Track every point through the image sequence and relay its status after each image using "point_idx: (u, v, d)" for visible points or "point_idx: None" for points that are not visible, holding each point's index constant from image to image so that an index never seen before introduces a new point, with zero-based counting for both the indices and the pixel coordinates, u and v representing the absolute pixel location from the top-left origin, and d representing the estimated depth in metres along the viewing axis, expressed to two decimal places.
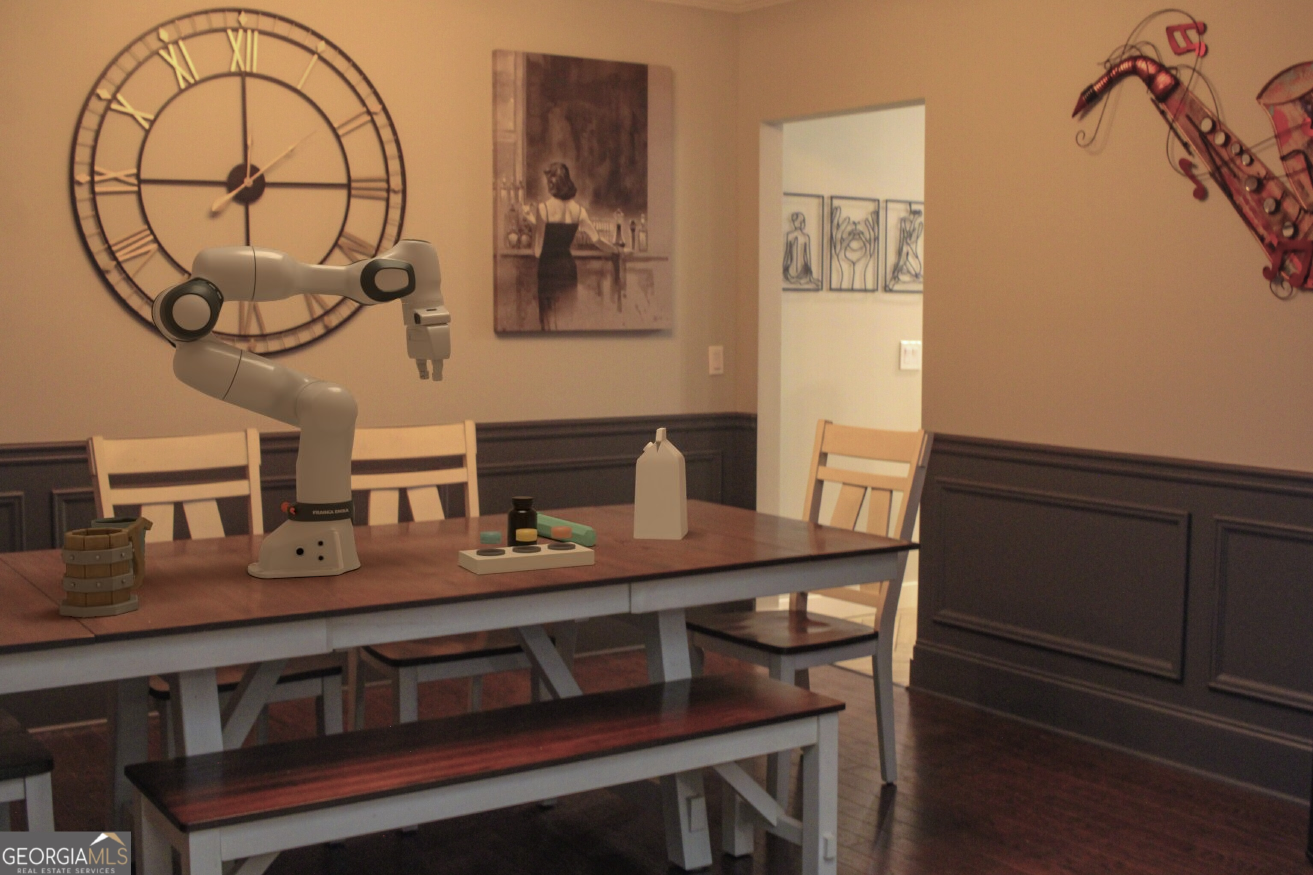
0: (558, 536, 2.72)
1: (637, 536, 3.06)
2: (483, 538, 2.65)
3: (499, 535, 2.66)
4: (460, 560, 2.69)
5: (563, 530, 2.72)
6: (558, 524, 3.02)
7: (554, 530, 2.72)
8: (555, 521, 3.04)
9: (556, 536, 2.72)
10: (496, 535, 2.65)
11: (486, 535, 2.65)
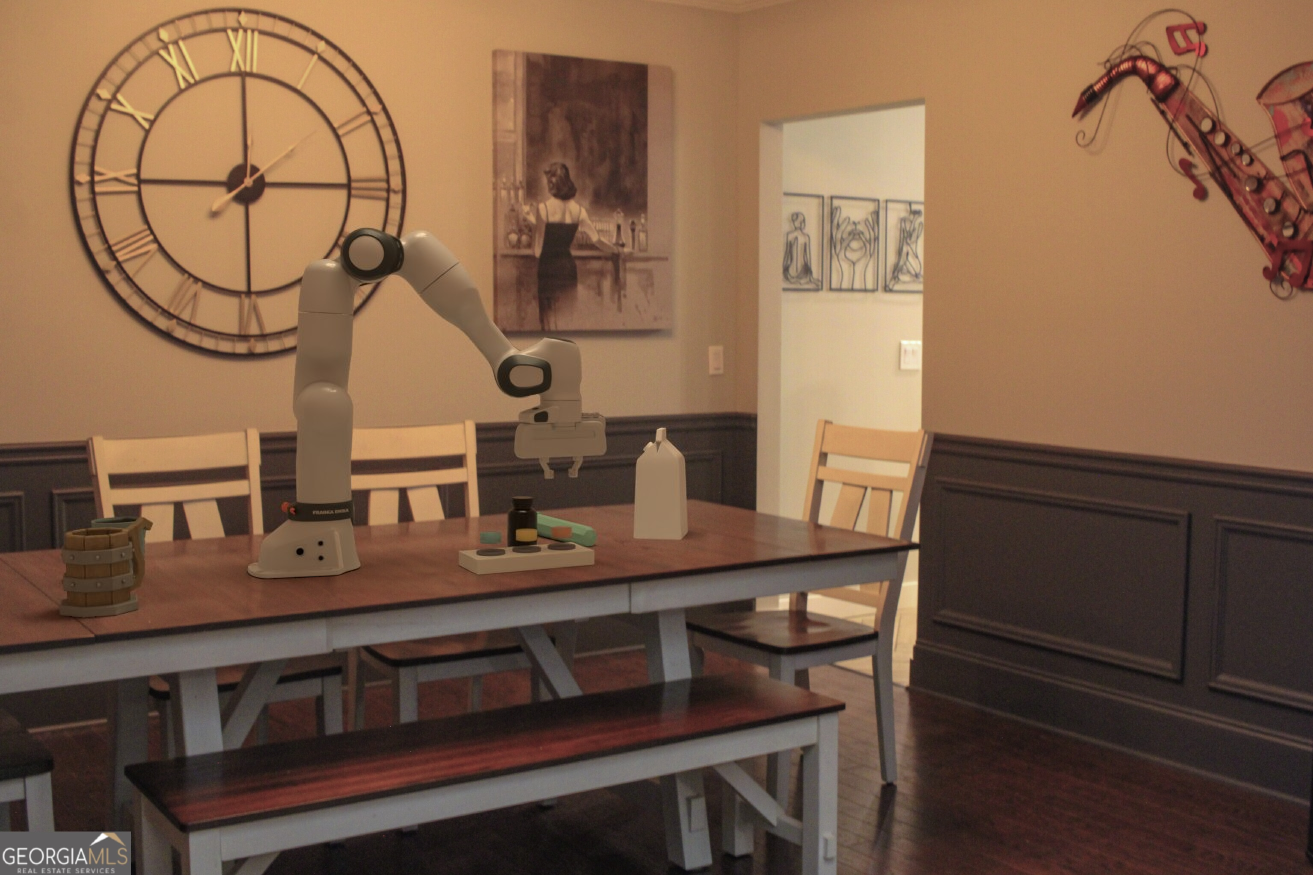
0: (558, 536, 2.72)
1: (637, 536, 3.06)
2: (483, 538, 2.65)
3: (499, 535, 2.66)
4: (460, 560, 2.69)
5: (563, 530, 2.72)
6: (558, 524, 3.02)
7: (554, 530, 2.72)
8: (555, 521, 3.04)
9: (556, 536, 2.72)
10: (496, 535, 2.65)
11: (486, 535, 2.65)
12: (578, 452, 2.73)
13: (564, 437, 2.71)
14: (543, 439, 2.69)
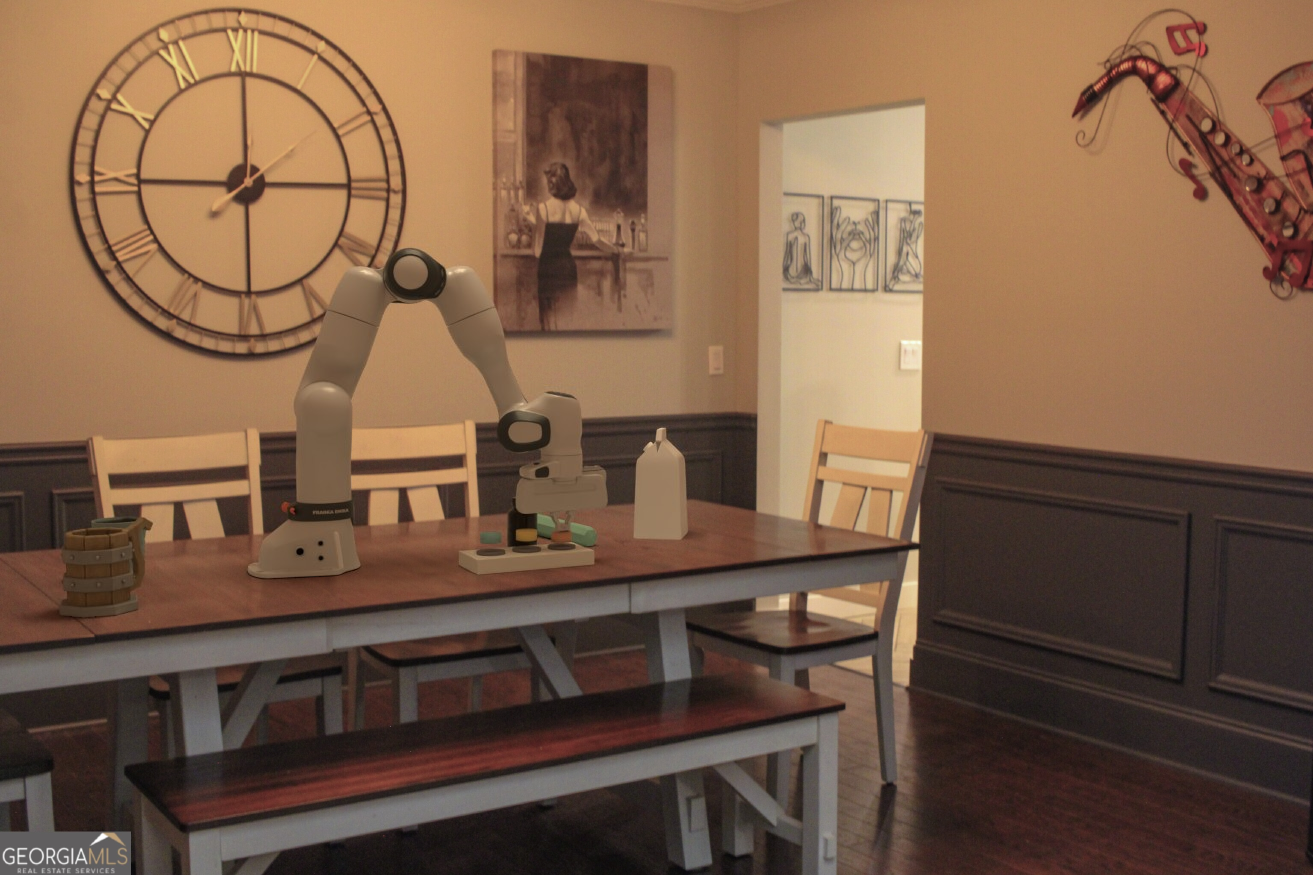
0: (558, 540, 2.72)
1: (637, 536, 3.06)
2: (483, 538, 2.65)
3: (499, 535, 2.66)
4: (460, 560, 2.69)
5: (563, 534, 2.72)
6: None
7: (554, 534, 2.73)
8: None
9: (556, 540, 2.72)
10: (496, 535, 2.65)
11: (486, 535, 2.65)
12: (579, 506, 2.74)
13: (565, 492, 2.72)
14: (544, 494, 2.70)
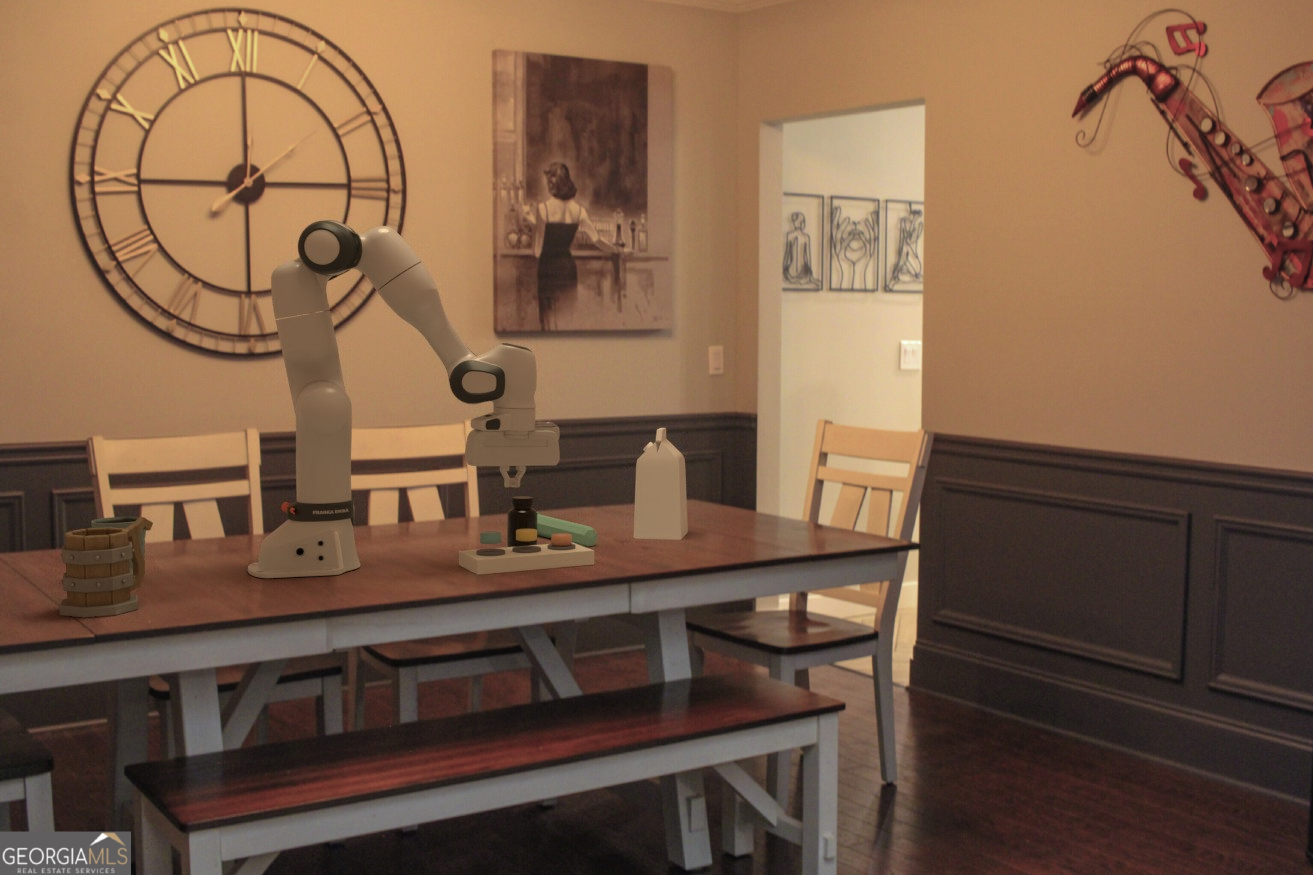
0: (558, 543, 2.72)
1: (637, 536, 3.06)
2: (483, 538, 2.65)
3: (499, 535, 2.66)
4: (460, 560, 2.69)
5: (563, 537, 2.72)
6: (558, 524, 3.02)
7: (554, 537, 2.73)
8: (555, 521, 3.04)
9: (556, 543, 2.72)
10: (496, 535, 2.65)
11: (486, 535, 2.65)
12: (530, 461, 2.68)
13: (517, 446, 2.67)
14: (494, 447, 2.65)
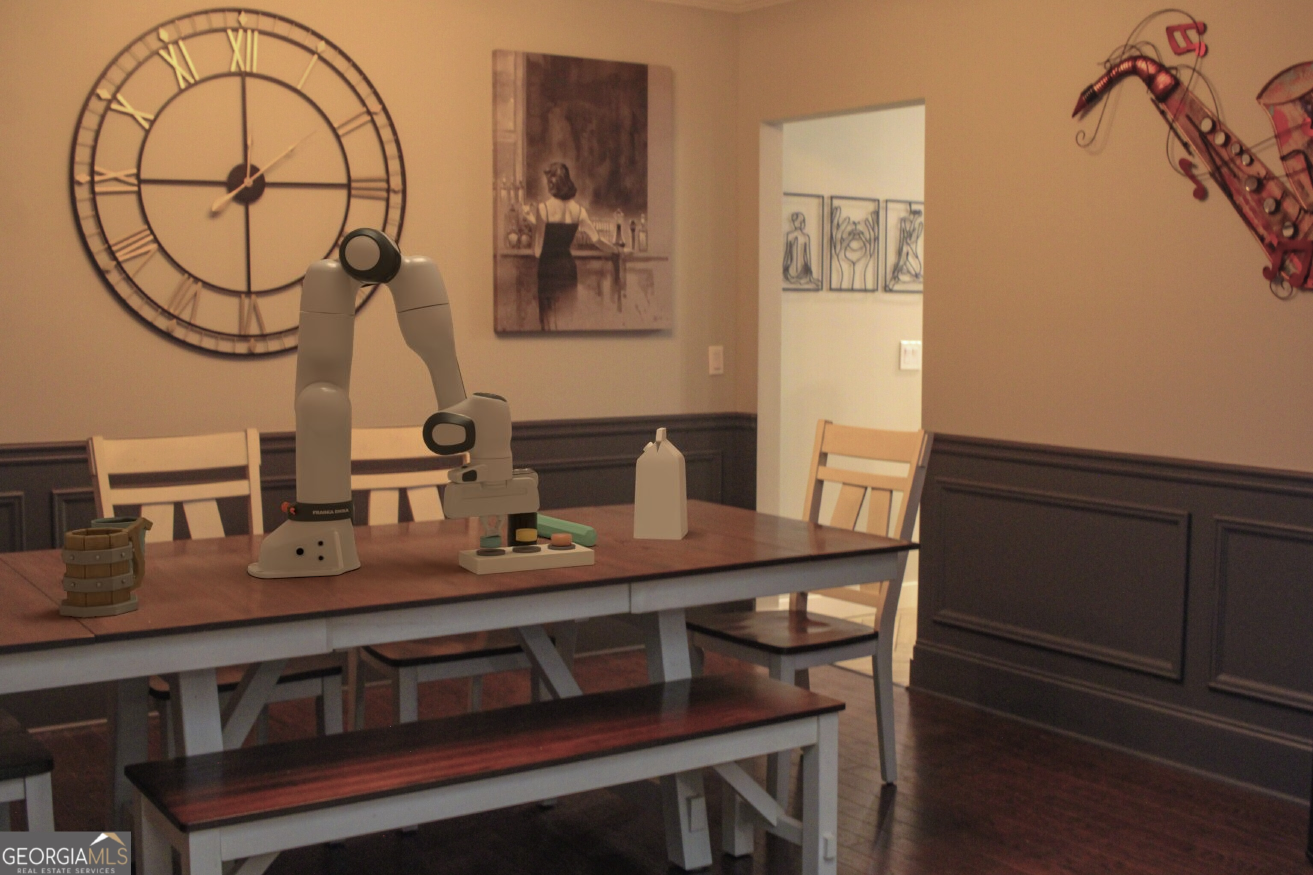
0: (558, 543, 2.72)
1: (637, 536, 3.06)
2: (483, 542, 2.65)
3: (499, 539, 2.66)
4: (460, 560, 2.69)
5: (563, 537, 2.72)
6: (557, 524, 3.02)
7: (554, 537, 2.73)
8: (554, 521, 3.04)
9: (556, 543, 2.72)
10: (496, 539, 2.65)
11: (486, 539, 2.65)
12: (510, 510, 2.66)
13: (495, 496, 2.65)
14: (472, 498, 2.63)
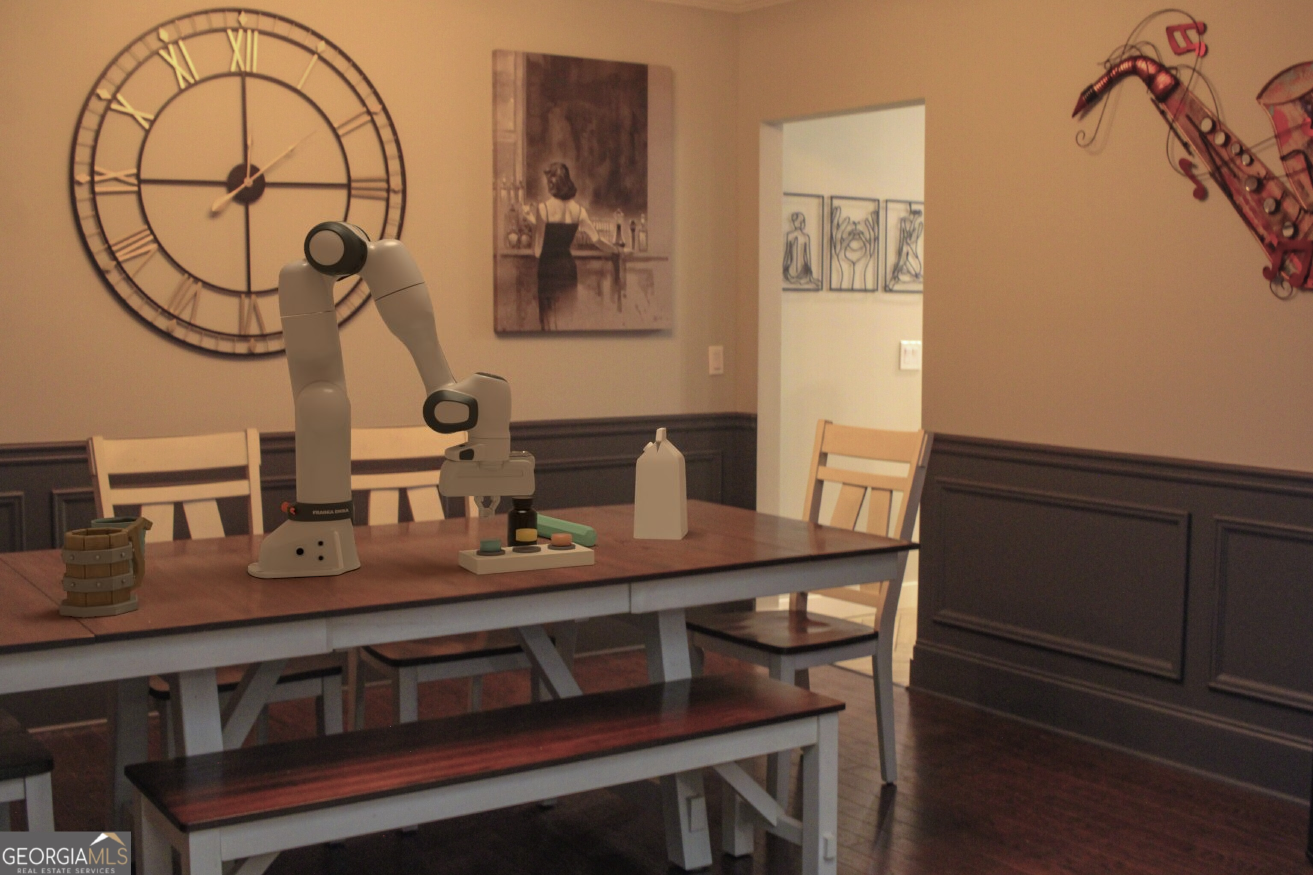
0: (558, 543, 2.72)
1: (637, 536, 3.06)
2: (483, 546, 2.65)
3: (499, 543, 2.66)
4: (460, 560, 2.69)
5: (563, 537, 2.72)
6: (557, 525, 3.02)
7: (554, 537, 2.73)
8: (554, 521, 3.04)
9: (556, 543, 2.72)
10: (496, 543, 2.65)
11: (486, 543, 2.65)
12: (505, 491, 2.66)
13: (491, 476, 2.65)
14: (468, 477, 2.62)
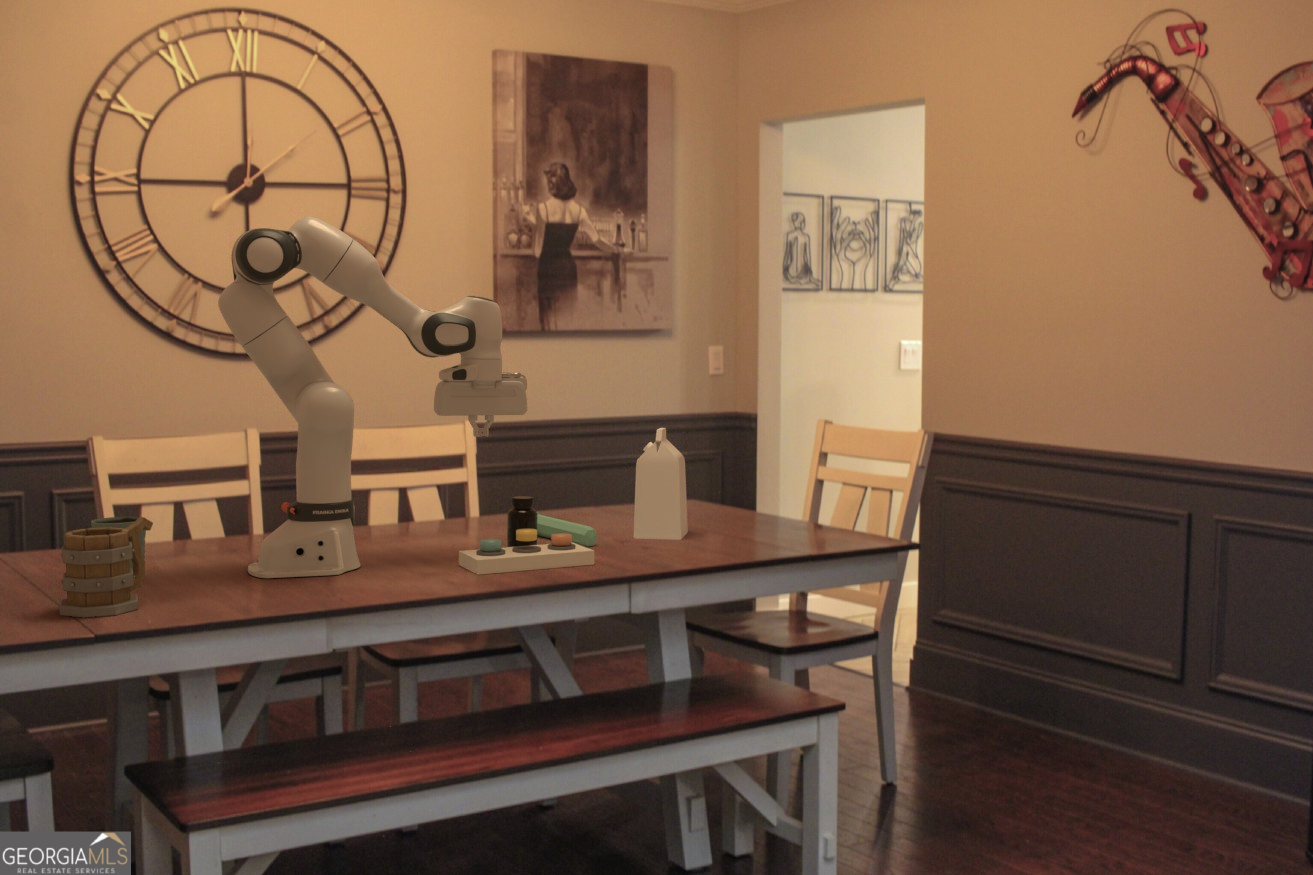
0: (558, 543, 2.72)
1: (637, 536, 3.06)
2: (483, 546, 2.65)
3: (499, 543, 2.66)
4: (460, 560, 2.69)
5: (563, 537, 2.72)
6: (557, 524, 3.02)
7: (554, 537, 2.73)
8: (554, 521, 3.04)
9: (556, 543, 2.72)
10: (496, 543, 2.65)
11: (486, 543, 2.65)
12: (498, 411, 2.75)
13: (484, 396, 2.74)
14: (462, 397, 2.72)
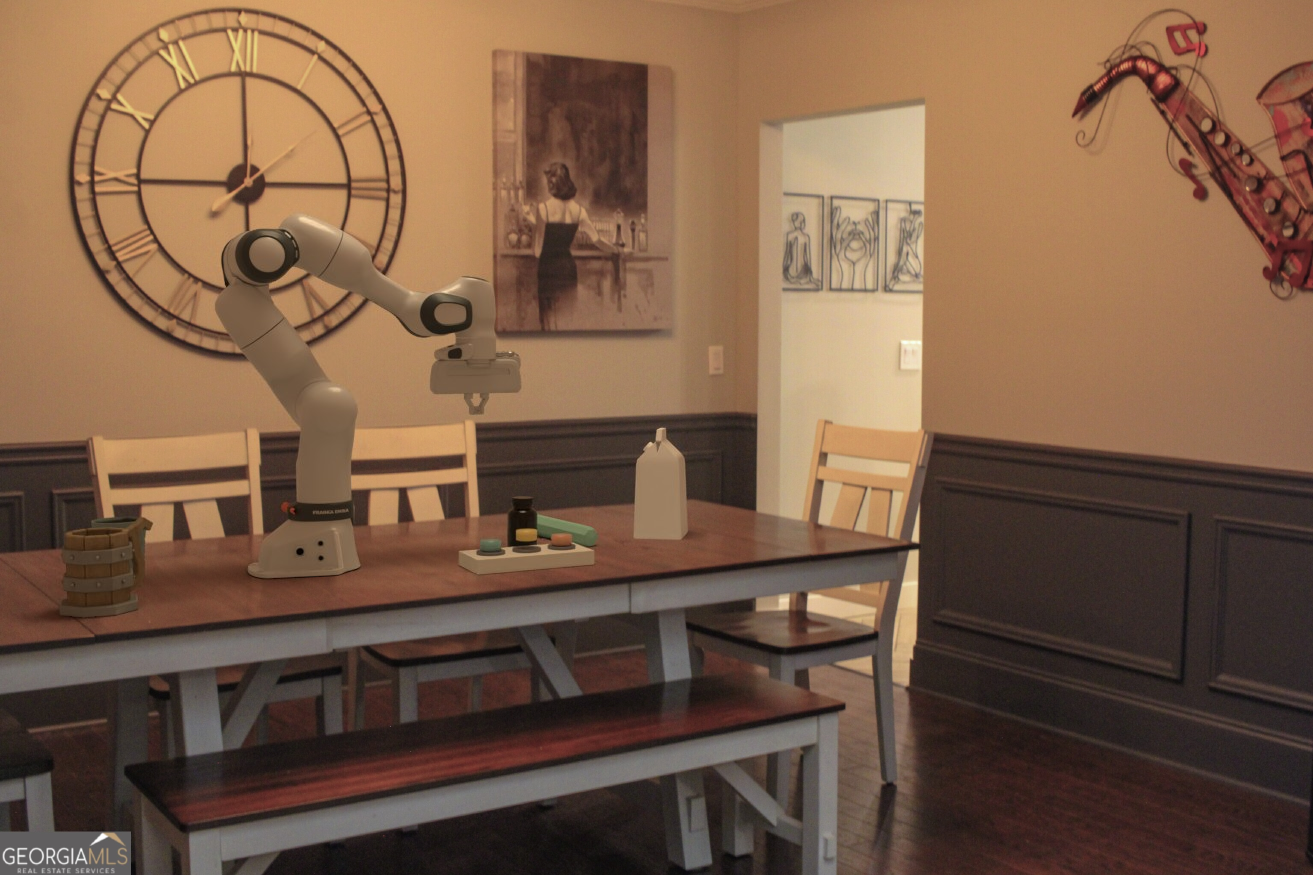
0: (558, 543, 2.72)
1: (637, 536, 3.06)
2: (483, 546, 2.65)
3: (499, 543, 2.66)
4: (460, 560, 2.69)
5: (563, 537, 2.72)
6: (557, 525, 3.02)
7: (554, 537, 2.73)
8: (554, 521, 3.03)
9: (556, 543, 2.72)
10: (496, 543, 2.65)
11: (486, 543, 2.65)
12: (493, 389, 2.81)
13: (479, 375, 2.79)
14: (457, 375, 2.77)
